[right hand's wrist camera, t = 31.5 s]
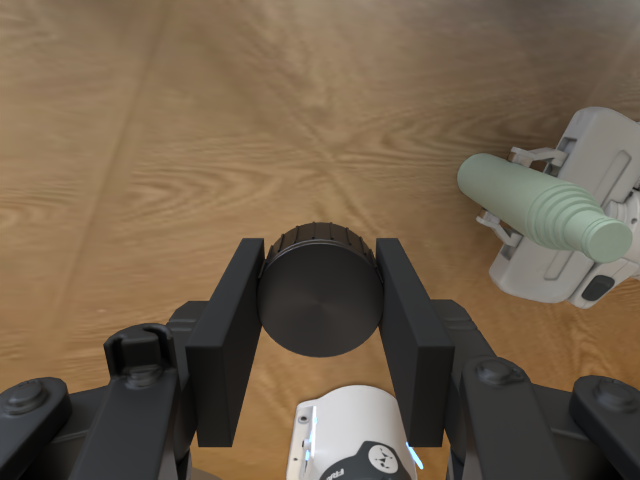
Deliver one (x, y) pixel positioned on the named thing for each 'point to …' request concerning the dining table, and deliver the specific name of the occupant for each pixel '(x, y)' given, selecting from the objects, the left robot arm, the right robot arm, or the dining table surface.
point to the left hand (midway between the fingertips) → (495, 185)
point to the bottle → (544, 208)
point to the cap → (320, 291)
